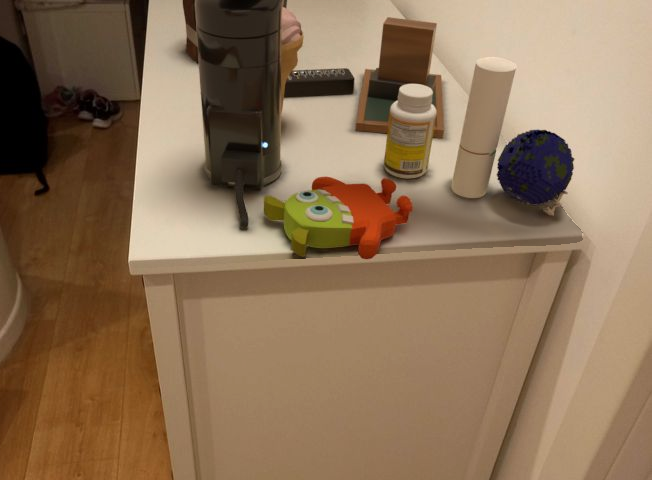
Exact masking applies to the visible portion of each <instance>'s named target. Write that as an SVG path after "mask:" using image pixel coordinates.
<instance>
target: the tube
mask: <svg viewBox="0 0 652 480" xmlns="http://www.w3.org/2000/svg"><path fill="white" fill-rule="evenodd" d="M516 70H517V64H516V63H515V62H514V61H511V60H509V59H506V58H503V57H497V56H485V57H480V58H478V59H476V60H475V66H474V69H473V76H472V81H471V84H470V90H469V96H468V101H467V105H466V110H465V115H464V120H463V126H462V130H461V134H460V140H459V145H458V150H457V156H456V161H455V166H454V171H453V176H452V181H451V186H450V189H451V191H452V192H453V193H454V194H455V195H458V196H460V197H462V198H467V199H477V198H478V199H479V198H482V197H484V196H485V195H486V194H487V192H488V187H489V183H490V180H491V179H490V178H491V176H492V175H491V174H492V170H493V166H494V162H495V159H496V158H495V157H496V154H497V148H498V145H499V142H500V139H501V138H500V137H501V133H502V129H503V125H504V120H505V116H506V112H507V108H508V104H509V100H510V96H511V91H512V86H513V83H514V78H515V74H516Z"/></svg>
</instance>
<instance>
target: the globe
mask: <svg viewBox="0 0 652 480" xmlns="http://www.w3.org/2000/svg"><path fill="white" fill-rule="evenodd" d="M574 161H575V158H574V157H573V154H572V149H571V148H570V147H569V143H567V142H566V140H565V139H564V138H563V137H561V136H560V135H558V134H557V133H555V132H552V131H550V130H549V131H548V130H547V129H529V131H525V132H521V133H519V134H517V135H516V136H514V138H512V139H511V140H510V141H508V143H507V144H505V146H504V148H503V149H502V152H501V153H500V155H499V157H498V159H497V164H496V166H497V167H496V168H497V173H496V176H497V178H496V180H497V181H498V183H499V185H500V187H501V188H502V191H503V192H504V194H505V195H506V196H507V197H509V198H512V199H513V200H514V201H516V202H519V203H520V204H524V205H528V206H530V205H531V206H540V208H541V209H542V211H543V213H546V215H549V216H553V217H554V216H555V211H556V208H559V207H562V203H561V202H560V201H561V199H562V197H563V196H564V195H568V193H569V192H567V191H566V190H567V188H568V186H569V184H570V183H571V181H572V179H573V174H574V173H573V172H574V169H575V166H574ZM548 202H552V205H551V206H549V205H548V206H546V205H544V204H545V203H548ZM541 205H542V206H541ZM543 205H544V206H543Z"/></svg>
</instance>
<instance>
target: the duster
mask: <svg viewBox="0 0 652 480" xmlns="http://www.w3.org/2000/svg"><path fill="white" fill-rule="evenodd" d="M437 27H438V23H437V22H429V21H422V20H415V19H407V18H398V17H390V16H387V18H386V19H385V20H384V22H383V24H382V33H381V42H380V52H379V60H378V67H376V68H375V69H374V70H375V71H374V73H373V75H372V76H371V78H370V80H369V89H368V97H374V98H381V99H388V100H395V101H397V100H398V94H399V89H400V87H401V86H403V85H406V84H421V85H425V86H427V87H429V88H431V89H432V91H433V93H434V88H435V82H436V76H432V75H429V74H430V72H431V66H432V65H431V64H432V60H433V54H434V53H433V51H434V46H435V40H436V33H437Z"/></svg>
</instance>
